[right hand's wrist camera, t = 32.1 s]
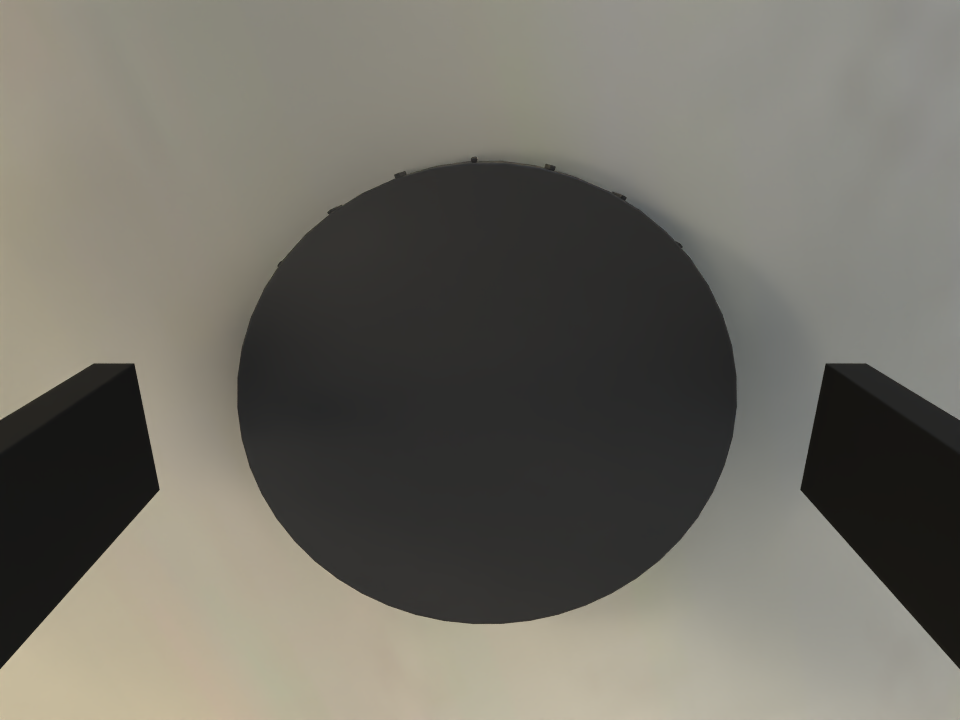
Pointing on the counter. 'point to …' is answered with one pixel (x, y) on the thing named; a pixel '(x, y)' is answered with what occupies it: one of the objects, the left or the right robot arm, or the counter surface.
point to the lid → (487, 392)
